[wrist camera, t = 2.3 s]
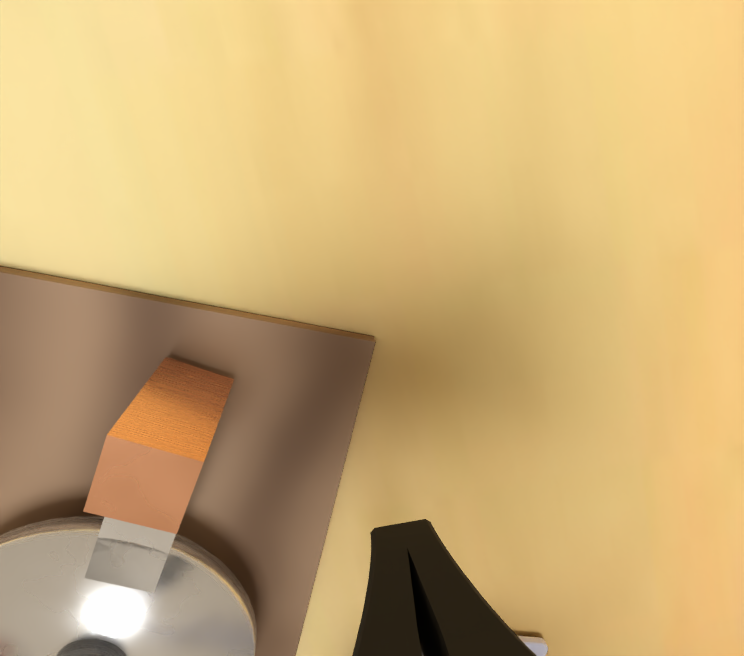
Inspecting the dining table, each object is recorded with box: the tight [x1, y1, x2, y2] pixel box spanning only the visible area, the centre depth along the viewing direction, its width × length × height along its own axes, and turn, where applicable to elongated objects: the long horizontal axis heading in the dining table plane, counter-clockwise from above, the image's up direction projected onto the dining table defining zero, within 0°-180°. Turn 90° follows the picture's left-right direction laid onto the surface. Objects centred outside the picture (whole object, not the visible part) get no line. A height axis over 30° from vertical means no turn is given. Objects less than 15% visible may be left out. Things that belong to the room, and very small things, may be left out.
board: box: [0, 266, 375, 656], centre depth 19 cm, size 18×22×2 cm
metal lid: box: [0, 357, 257, 656], centre depth 17 cm, size 18×12×5 cm, turn 156°
